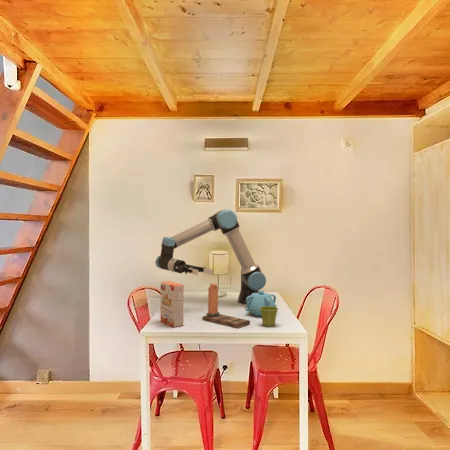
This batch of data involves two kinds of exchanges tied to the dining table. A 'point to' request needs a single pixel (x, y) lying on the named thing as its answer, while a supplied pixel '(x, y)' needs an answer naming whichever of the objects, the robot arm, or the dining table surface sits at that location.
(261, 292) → the decorative pot
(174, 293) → the cracker box
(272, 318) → the plant pot
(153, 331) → the dining table surface
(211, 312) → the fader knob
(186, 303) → the dining table surface
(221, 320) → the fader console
